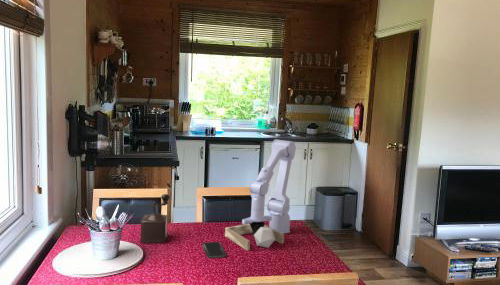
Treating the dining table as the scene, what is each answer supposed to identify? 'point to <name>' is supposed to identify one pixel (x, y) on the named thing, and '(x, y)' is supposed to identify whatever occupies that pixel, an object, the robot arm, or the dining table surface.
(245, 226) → the wooden frame
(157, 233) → the coffee grinder box
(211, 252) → the phone
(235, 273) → the dining table surface
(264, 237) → the die
